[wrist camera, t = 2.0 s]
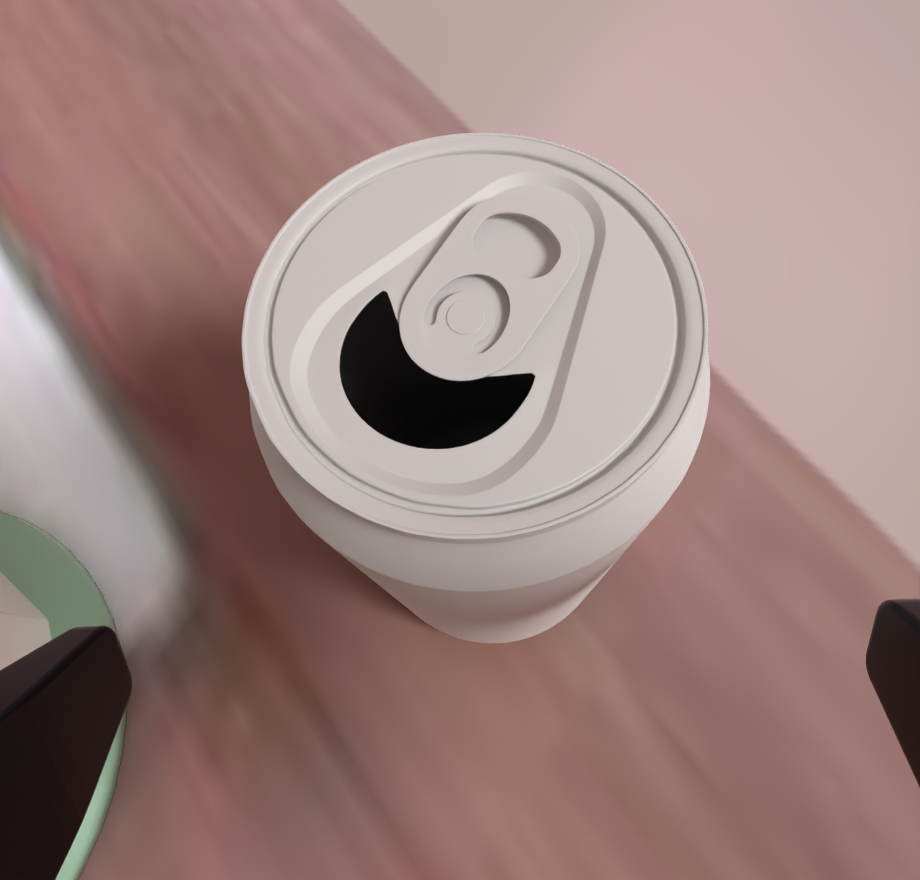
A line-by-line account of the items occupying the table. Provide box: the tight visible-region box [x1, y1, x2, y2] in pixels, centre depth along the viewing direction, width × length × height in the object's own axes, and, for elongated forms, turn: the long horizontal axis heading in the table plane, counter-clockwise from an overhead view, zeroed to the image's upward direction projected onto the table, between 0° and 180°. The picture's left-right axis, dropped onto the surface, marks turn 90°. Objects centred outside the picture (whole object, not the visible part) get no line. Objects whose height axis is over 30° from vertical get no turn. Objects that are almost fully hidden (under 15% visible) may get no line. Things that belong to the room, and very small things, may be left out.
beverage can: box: [241, 133, 710, 643], centre depth 13 cm, size 6×6×12 cm
